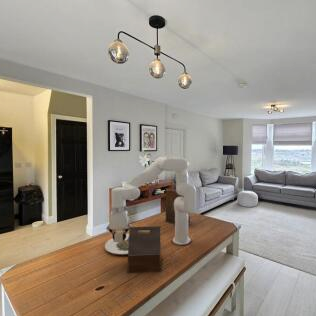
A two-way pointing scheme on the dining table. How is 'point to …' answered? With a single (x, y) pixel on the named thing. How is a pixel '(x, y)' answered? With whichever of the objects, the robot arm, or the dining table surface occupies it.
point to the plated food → (118, 246)
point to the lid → (144, 240)
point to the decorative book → (172, 205)
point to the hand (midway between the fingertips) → (119, 239)
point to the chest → (144, 262)
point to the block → (118, 236)
